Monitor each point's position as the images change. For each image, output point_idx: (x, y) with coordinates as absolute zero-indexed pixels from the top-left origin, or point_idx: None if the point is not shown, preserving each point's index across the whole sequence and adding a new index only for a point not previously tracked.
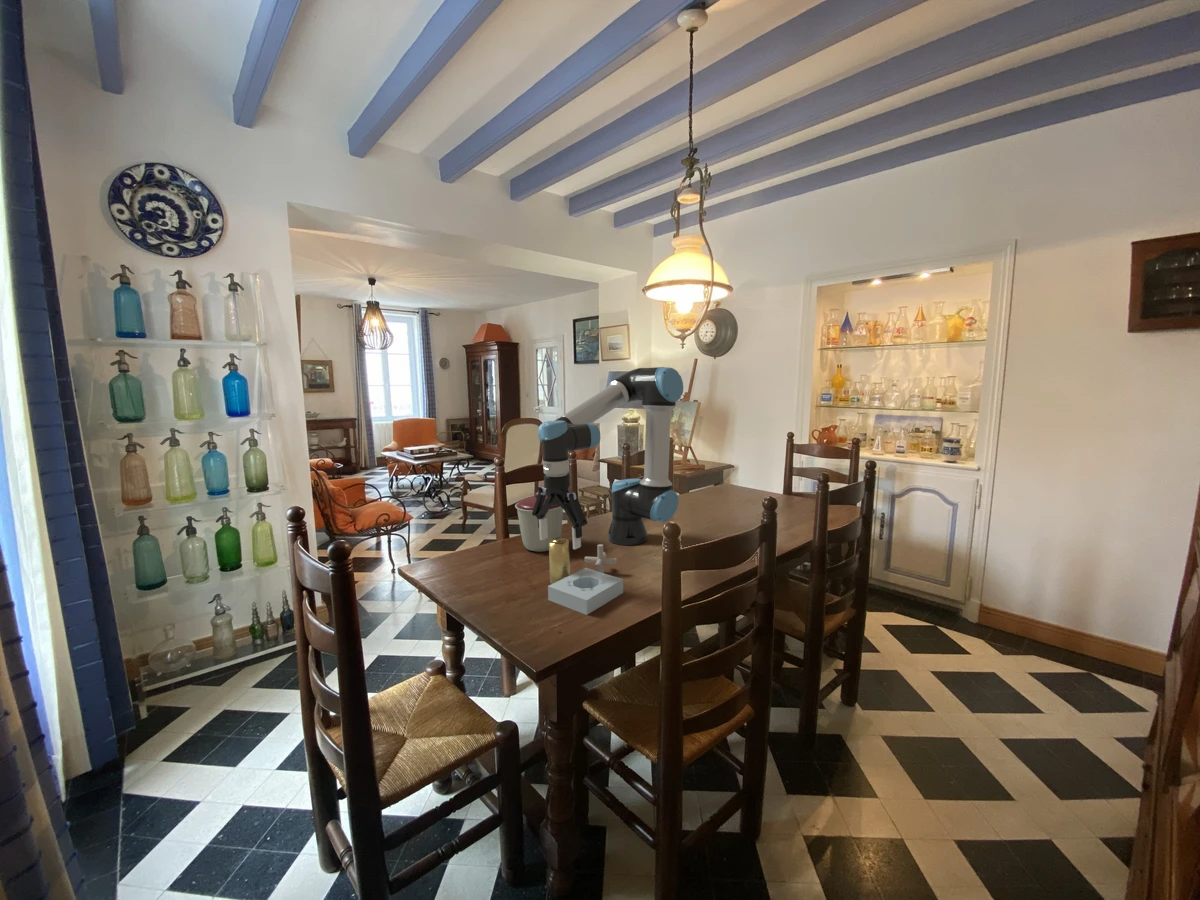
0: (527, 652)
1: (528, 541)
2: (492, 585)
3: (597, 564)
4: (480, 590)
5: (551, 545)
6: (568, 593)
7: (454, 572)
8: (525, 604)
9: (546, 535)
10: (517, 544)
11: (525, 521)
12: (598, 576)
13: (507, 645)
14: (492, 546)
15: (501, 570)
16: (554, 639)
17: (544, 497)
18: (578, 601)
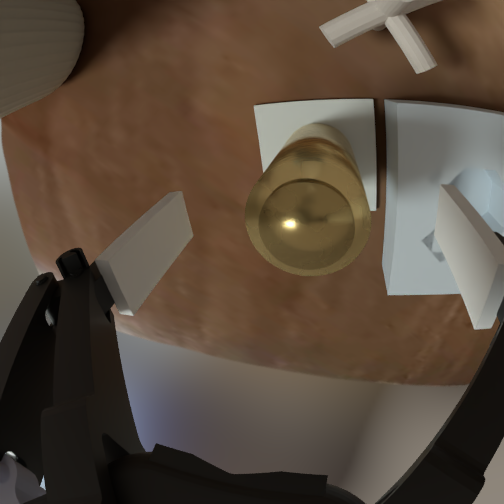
0: (446, 375)
1: (38, 98)
2: (187, 275)
3: (430, 68)
4: (195, 303)
5: (308, 272)
6: None
7: None
8: (336, 296)
9: (176, 208)
10: None
11: None
12: (484, 147)
13: (409, 381)
14: (9, 148)
15: (120, 210)
16: (469, 340)
17: (11, 417)
18: None
